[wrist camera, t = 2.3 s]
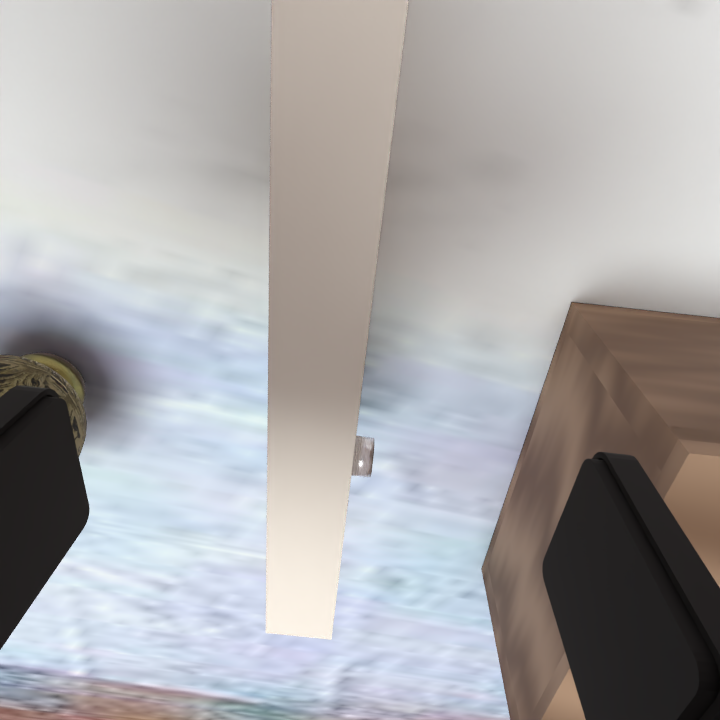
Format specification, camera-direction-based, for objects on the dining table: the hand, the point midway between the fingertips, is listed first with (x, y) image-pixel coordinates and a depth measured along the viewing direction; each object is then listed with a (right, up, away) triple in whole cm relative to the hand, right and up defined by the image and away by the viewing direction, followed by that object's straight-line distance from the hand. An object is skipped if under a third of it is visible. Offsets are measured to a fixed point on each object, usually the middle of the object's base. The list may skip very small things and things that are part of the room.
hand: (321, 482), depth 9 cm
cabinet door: (0, +8, +12) cm, 14 cm away
